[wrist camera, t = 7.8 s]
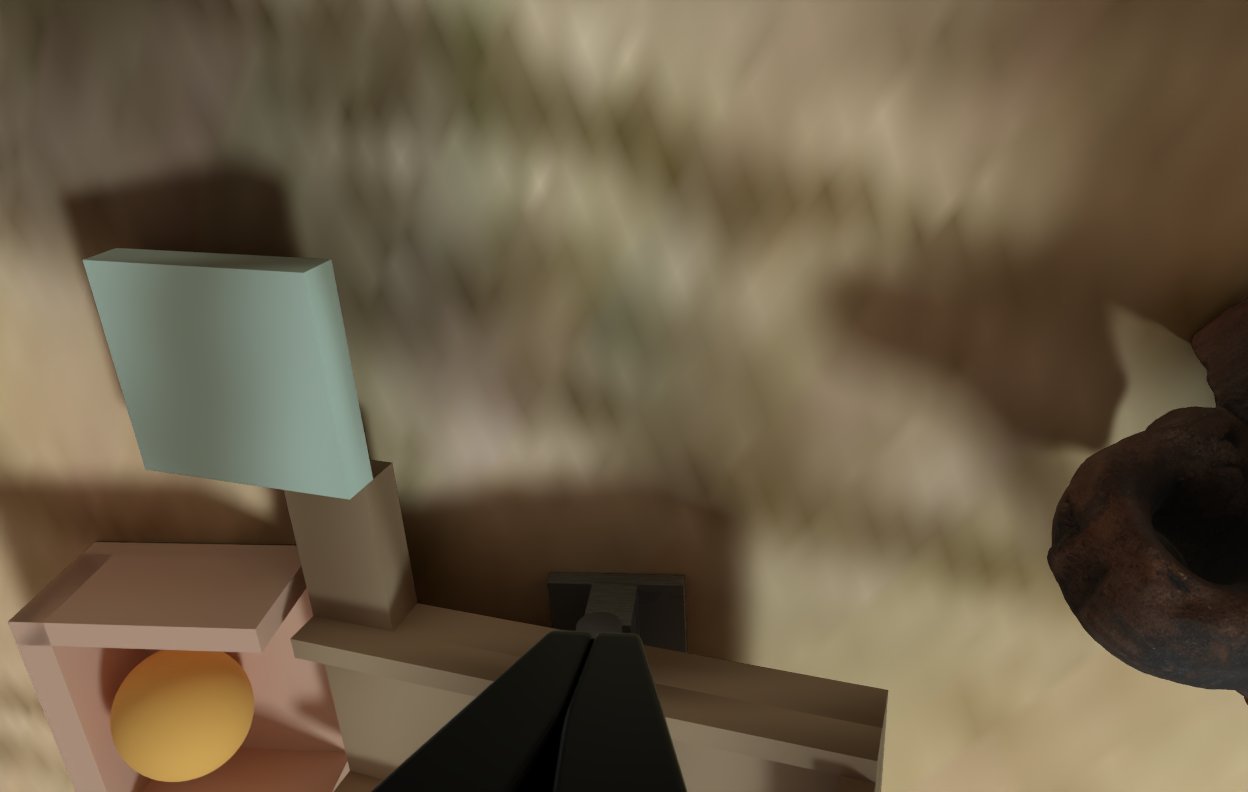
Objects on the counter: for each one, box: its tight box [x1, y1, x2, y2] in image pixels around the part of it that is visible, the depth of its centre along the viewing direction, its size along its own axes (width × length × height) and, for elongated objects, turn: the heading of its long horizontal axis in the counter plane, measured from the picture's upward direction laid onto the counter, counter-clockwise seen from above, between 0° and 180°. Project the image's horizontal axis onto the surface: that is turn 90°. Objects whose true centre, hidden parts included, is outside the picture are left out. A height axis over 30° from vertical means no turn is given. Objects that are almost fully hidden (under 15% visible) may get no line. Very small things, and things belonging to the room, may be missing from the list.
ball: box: [110, 650, 254, 782], centre depth 22 cm, size 3×3×3 cm
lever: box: [83, 248, 888, 792], centre depth 19 cm, size 15×14×2 cm
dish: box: [8, 542, 350, 792], centre depth 23 cm, size 6×6×3 cm
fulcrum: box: [548, 572, 687, 653], centre depth 22 cm, size 3×5×2 cm, turn 3°
